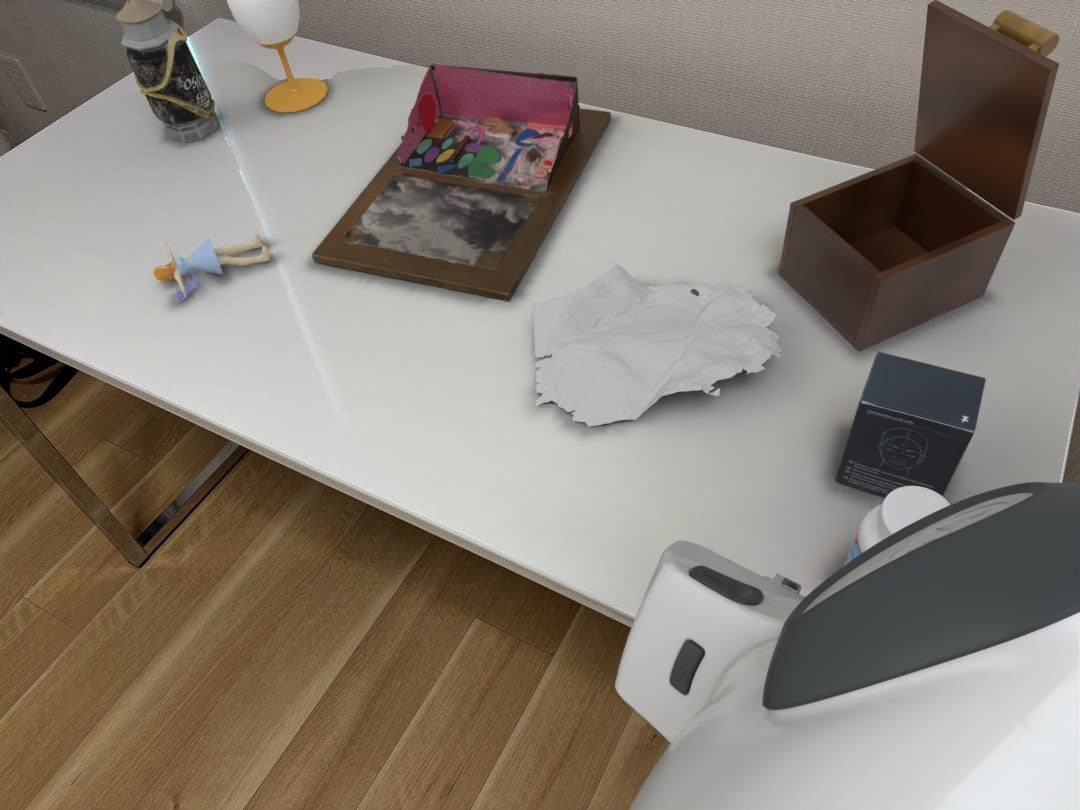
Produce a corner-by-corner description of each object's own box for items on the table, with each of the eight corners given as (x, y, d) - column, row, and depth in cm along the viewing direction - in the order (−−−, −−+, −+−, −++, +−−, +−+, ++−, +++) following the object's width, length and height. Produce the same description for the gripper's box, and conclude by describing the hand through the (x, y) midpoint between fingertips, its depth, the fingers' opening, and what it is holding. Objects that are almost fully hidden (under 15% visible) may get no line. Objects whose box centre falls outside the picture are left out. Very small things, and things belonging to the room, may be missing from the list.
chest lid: (1050, 68, 59) (1108, 34, 59) (927, 3, 67) (978, -27, 67) (1013, 220, 71) (1061, 192, 71) (913, 151, 79) (957, 125, 79)
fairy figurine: (272, 255, 87) (157, 288, 83) (282, 290, 91) (172, 323, 87) (245, 201, 94) (137, 230, 90) (255, 236, 97) (152, 264, 94)
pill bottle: (847, 547, 63) (880, 463, 54) (930, 575, 61) (978, 493, 52) (827, 614, 60) (859, 536, 51) (914, 646, 58) (963, 571, 49)
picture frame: (614, 120, 104) (613, 58, 97) (509, 303, 84) (498, 241, 78) (445, 99, 111) (433, 40, 105) (311, 262, 91) (287, 202, 85)
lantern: (236, 120, 113) (153, -76, 93) (193, 151, 108) (97, -47, 89) (193, 108, 116) (104, -84, 97) (150, 137, 112) (49, -57, 93)
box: (946, 461, 67) (989, 376, 59) (933, 515, 64) (976, 434, 56) (849, 432, 70) (877, 347, 62) (832, 482, 67) (859, 400, 59)
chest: (859, 351, 75) (880, 280, 69) (778, 273, 83) (790, 202, 76) (983, 296, 78) (1015, 222, 72) (894, 225, 86) (915, 153, 79)
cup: (337, 80, 117) (302, -37, 105) (312, 114, 112) (272, -5, 99) (281, 78, 119) (240, -37, 107) (254, 111, 114) (207, -6, 101)
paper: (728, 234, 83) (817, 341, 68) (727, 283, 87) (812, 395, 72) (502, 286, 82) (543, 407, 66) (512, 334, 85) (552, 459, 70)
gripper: (1191, 831, 26) (1116, 685, 38) (630, 542, 34) (717, 499, 47) (1100, 986, 27) (1055, 796, 39) (580, 671, 36) (677, 595, 48)
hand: (869, 633), depth 43 cm, fingers open, 8 cm apart
